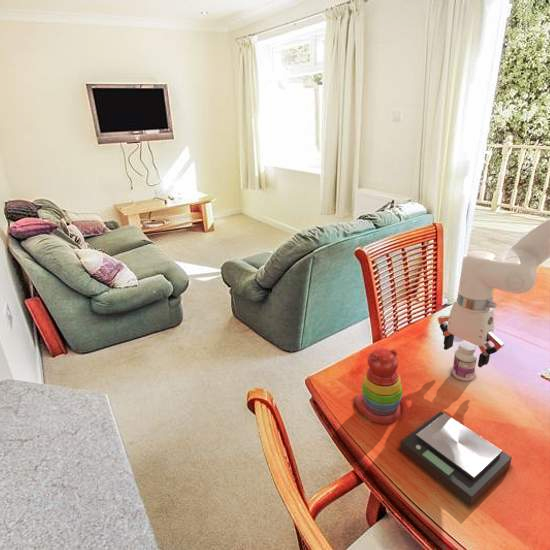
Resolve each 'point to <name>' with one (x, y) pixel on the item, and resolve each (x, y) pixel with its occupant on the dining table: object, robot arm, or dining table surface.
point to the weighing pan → (459, 445)
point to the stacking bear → (381, 387)
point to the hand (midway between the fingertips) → (464, 356)
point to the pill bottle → (465, 361)
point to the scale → (452, 468)
